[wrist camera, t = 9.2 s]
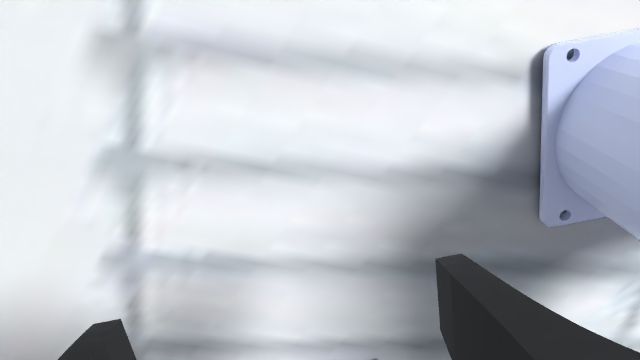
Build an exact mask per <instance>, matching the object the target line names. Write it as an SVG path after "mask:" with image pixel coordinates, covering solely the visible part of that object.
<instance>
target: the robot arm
mask: <svg viewBox="0 0 640 360" xmlns="http://www.w3.org/2000/svg"><path fill="white" fill-rule="evenodd" d="M571 49H573V50H574V55H573V57H572V58H571V59H570V60H567V57H566V56H567V53H568V52H569V50H571ZM565 210H566V213H565V214H564V215H563V216H561V217H559V216H560V214H561V212H562V211H565ZM539 217H540V220H541V221H542V223H544V224H545V225H546V226H548V227H556V226H561V225H566V224H571V223H577V222H582V221H587V220H592V219H598V218H603V217H608V218H610V219H611V220H613V221H614V222H615V223H617V224H618V225H619V226H621V227H622V228H623V229H625V230H626V231H628V232H629V233H630V234H632V235H633V236H634V237H636V238H637V239H638V240H640V28H639V29H633V30H628V31H622V32H616V33H611V34H605V35H599V36H594V37H588V38H582V39H577V40H571V41H565V42H559V43H555V44H552V45H551V46H550V47H548V48H547V50H546V51H545V53H544V57H543V90H542V130H541V169H540V209H539ZM436 273H437V287H438V301H439V316H440V330H441V332H442V335H443V338H444V340H445V343H446V346H447V348H448V351H449V353H450V356H451V358H452V360H640V353H639V352H637V351H634V350H632V349H629V348H627V347H625V346H622V345H620V344H618V343H616V342H613V341H611V340H609V339H607V338H605V337H602V336H600V335H598V334H596V333H594V332H591V331H589V330H587V329H585V328H583V327H581V326H579V325H577V324H575V323H573V322H572V321H570V320H568V319H566V318H564V317H562V316H561V315H559V314H557V313H555V312H553V311H551V310H549V309H548V308H546V307H544V306H542V305H541V304H539V303H537V302H536V301H534V300H532V299H531V298H529V297H527V296H526V295H524V294H522V293H521V292H519V291H518V290H516V289H514V288H513V287H511V286H510V285H508V284H507V283H505V282H503V281H502V280H500V279H499V278H497V277H496V276H494V275H493V274H491V273H490V272H488V271H487V270H485V269H484V268H482V267H481V266H479V265H478V264H476V263H475V262H473V261H472V260H470V259H469V258H467V257H466V256H464V255H463V254H458V255H453V256H448V257H442V258H437V259H436ZM58 360H136V358H135V355H134V352H133V350H132V347H131V345H130V342H129V339H128V337H127V334H126V332H125V329H124V326H123V324H122V321H121V319H118V320H113V321H107V322H102V323H97V324H93V325H92V326H91V327H90V328H89V329H88V330H86V331H85V332H84V333H83V334H82V335H81V336H80V337H79V338H78V339H77V340H76V341H75V342H74V343H73V344H72V345H71V346H70V347H69V348H68V349H67V350H66V351H65V353H64V354H63V355H62V356H61V357H60V358H59V359H58Z"/></svg>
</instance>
